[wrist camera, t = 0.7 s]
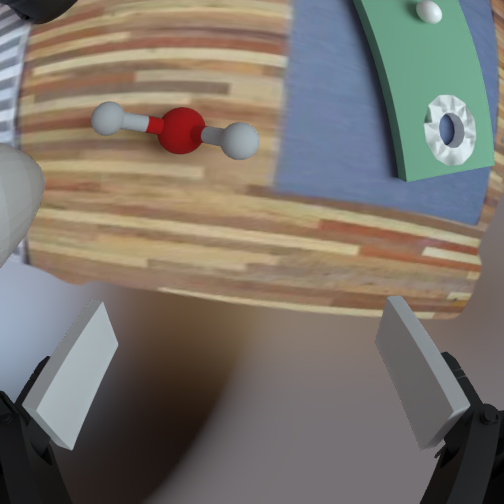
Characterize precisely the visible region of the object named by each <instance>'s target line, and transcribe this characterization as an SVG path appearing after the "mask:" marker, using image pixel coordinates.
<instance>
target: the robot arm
mask: <svg viewBox="0 0 504 504" xmlns="http://www.w3.org/2000/svg"><path fill="white" fill-rule="evenodd" d="M76 1H77V0H0V3H2V4H6V5H8V6H9V7H10V8H11V9H12V10H13V11H14V12H15V13H16V14H17V15H18V16H19V17H20V18H21V19H22V20H24V21H26V22H30V23H33V24H42V23H46V22H49V21H51V20H53V19H55V18H56V17H58V16H60V15H61V14H63V13H64V12H65V11H67V10H68V9H69V8H70V7H71V6H72V5H73V4H74V3H75V2H76ZM375 343H376V345H377V348H378V350H379V352H380V354H381V356H382V358H383V361H384V363H385V365H386V367H387V370H388V372H389V374H390V377H391V379H392V381H393V383H394V386H395V388H396V390H397V393H398V395H399V397H400V400H401V402H402V405H403V407H404V410H405V412H406V415H407V417H408V420H409V422H410V425H411V427H412V430H413V433H414V435H415V437H416V441H417V443H418V446H419V448H420V451H424V450H426V449H429V448H432V447H435V446H437V445H438V444H439V443H440V442H441V440H442V439H443V438H444V441H445V443H446V444H445V445H444V446H443V447H442V448H441V449H440V451H438V452H437V454H436V455H435V458H437V457H438V456H439V455H440V454H441V455H440V457H439V460H438V463H437V465H436V468H435V470H434V473H433V475H432V478H431V480H430V483H429V485H428V487H427V489H426V491H425V493H424V496H423V498H422V500H421V502H420V504H504V410H503V411H498V410H497V409H496V408H495V407H494V406H492V405H490V404H483V403H482V401H481V400H480V398H479V396H478V395H477V393H476V391H475V390H474V388H473V386H472V384H471V383H470V381H469V379H468V378H467V377H466V375H465V373H464V371H463V370H461V367H460V365H459V363H458V362H457V360H456V359H455V358H454V357H453V356H451V355H450V354H449V353H448V352H444V353H440V352H439V351H438V349H437V347H436V346H435V344H434V343H433V341H432V340H431V338H430V337H429V335H428V334H427V332H426V331H425V329H424V328H423V326H422V325H421V323H420V322H419V320H418V319H417V317H416V316H415V315H414V313H413V312H412V310H411V309H410V307H409V306H408V305H407V303H406V302H405V300H404V299H403V298H402V296H390V297H387V299H386V303H385V307H384V311H383V314H382V318H381V322H380V325H379V329H378V332H377V336H376V339H375ZM117 346H118V342H117V340H116V337H115V334H114V332H113V329H112V326H111V324H110V321H109V318H108V315H107V312H106V309H105V306H104V303H103V301H89V303H88V304H87V305H86V307H85V308H84V309H83V311H82V312H81V314H80V315H79V317H78V318H77V319H76V321H75V322H74V324H73V325H72V326H71V328H70V329H69V330H68V332H67V333H66V335H65V336H64V338H63V339H62V341H61V342H60V344H59V345H58V347H57V348H56V350H55V352H54V353H53V354H52V356H51V357H49V356H47V357H46V358H45V359H43V360H42V361H41V362H40V363H39V364H38V366H37V367H36V369H35V370H34V373H33V374H32V375H31V377H30V380H28V382H27V383H26V385H25V386H24V388H23V390H22V391H21V393H20V395H19V397H18V398H17V400H16V402H15V403H14V404H13V402H12V401H11V400H10V398H9V397H8V396H7V395H6V394H5V392H3V391H0V504H73V503H72V500H71V498H70V496H69V493H68V491H67V489H66V486H65V484H64V481H63V479H62V476H61V473H60V471H59V468H58V465H57V462H56V459H55V456H54V453H53V450H52V447H51V445H50V444H49V441H50V438H51V439H52V440H53V441H54V442H55V443H56V444H57V445H59V446H61V447H64V448H67V449H69V450H72V449H73V447H74V444H75V441H76V439H77V436H78V433H79V431H80V429H81V426H82V423H83V421H84V419H85V417H86V414H87V412H88V410H89V407H90V405H91V402H92V400H93V398H94V396H95V393H96V391H97V389H98V387H99V385H100V382H101V380H102V378H103V376H104V374H105V371H106V369H107V367H108V365H109V363H110V361H111V359H112V357H113V355H114V353H115V351H116V348H117Z"/></svg>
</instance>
